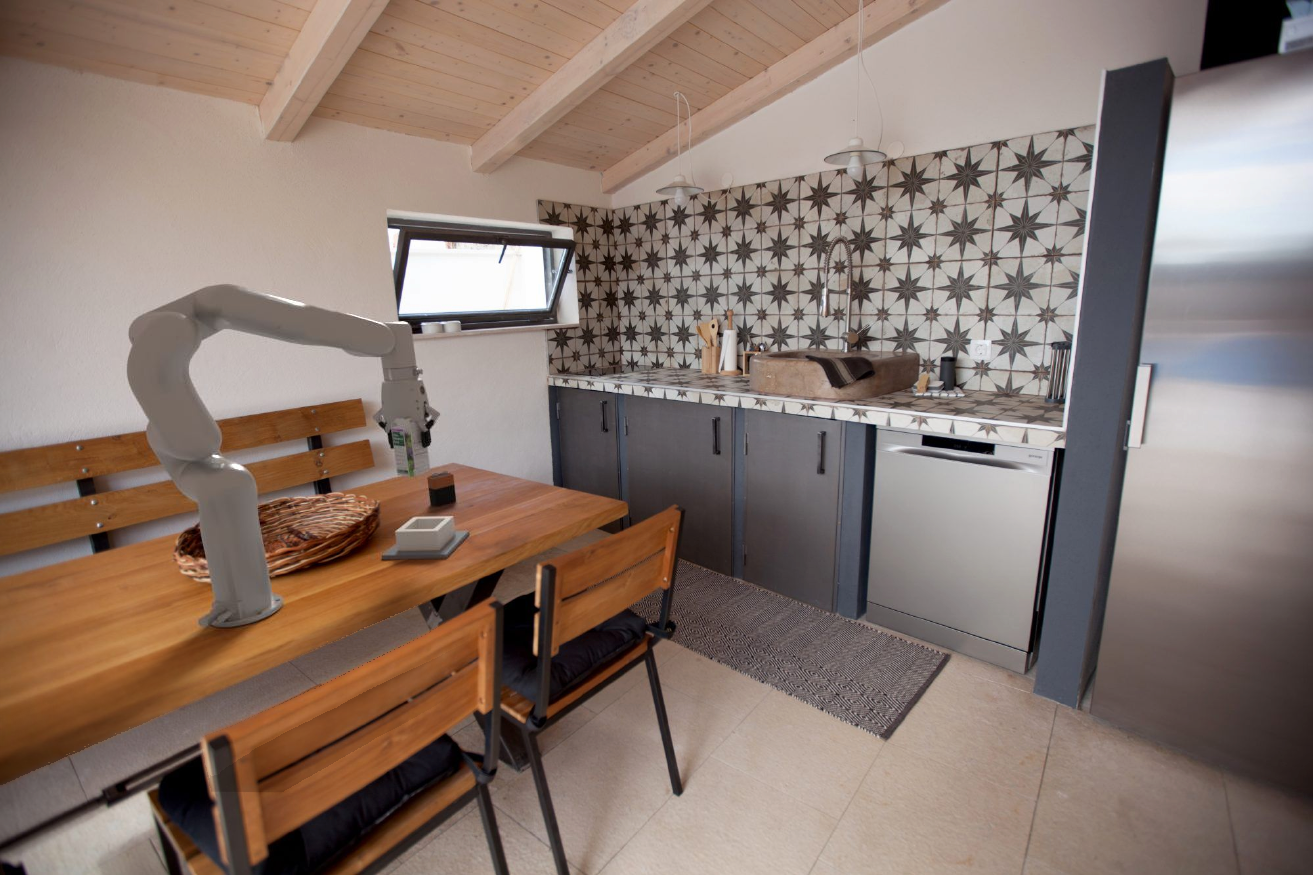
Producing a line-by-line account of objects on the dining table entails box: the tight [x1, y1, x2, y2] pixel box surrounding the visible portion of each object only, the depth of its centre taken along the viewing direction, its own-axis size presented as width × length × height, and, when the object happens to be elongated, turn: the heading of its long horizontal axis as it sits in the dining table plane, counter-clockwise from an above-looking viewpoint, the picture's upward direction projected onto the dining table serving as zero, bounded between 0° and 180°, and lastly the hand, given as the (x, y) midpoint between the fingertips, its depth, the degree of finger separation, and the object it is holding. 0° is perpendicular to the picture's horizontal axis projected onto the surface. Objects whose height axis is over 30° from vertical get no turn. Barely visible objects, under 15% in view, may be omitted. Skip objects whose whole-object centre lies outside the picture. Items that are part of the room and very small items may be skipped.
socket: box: [381, 515, 470, 560], centre depth 155 cm, size 16×16×6 cm
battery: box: [426, 470, 457, 508], centre depth 189 cm, size 4×7×10 cm, turn 137°
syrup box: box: [391, 417, 431, 478], centre depth 148 cm, size 6×6×14 cm
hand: (410, 446), depth 148 cm, fingers closed on syrup box, 7 cm apart
